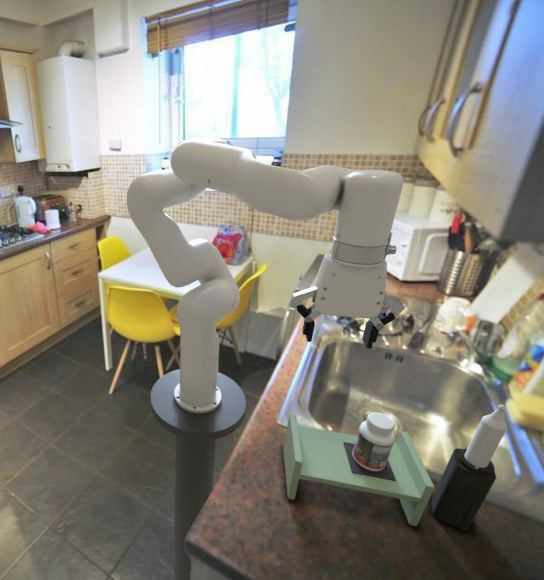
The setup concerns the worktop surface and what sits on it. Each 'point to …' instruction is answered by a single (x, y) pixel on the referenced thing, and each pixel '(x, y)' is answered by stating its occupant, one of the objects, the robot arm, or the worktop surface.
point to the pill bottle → (374, 442)
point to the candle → (469, 474)
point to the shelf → (356, 467)
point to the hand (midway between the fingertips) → (336, 341)
